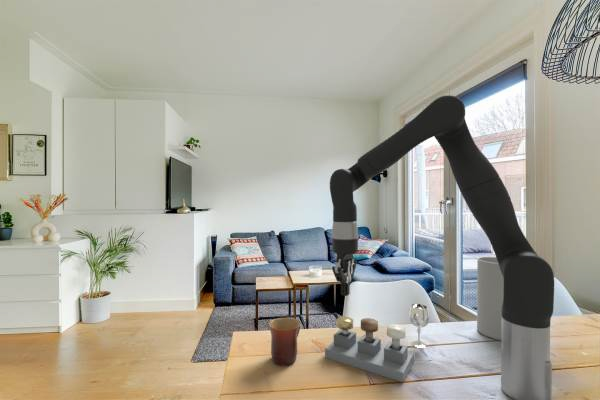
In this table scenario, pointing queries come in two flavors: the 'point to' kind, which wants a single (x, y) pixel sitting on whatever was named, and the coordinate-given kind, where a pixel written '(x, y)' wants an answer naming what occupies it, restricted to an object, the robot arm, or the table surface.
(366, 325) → the walnut key
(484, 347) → the table surface
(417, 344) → the wineglass
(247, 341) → the table surface
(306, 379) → the table surface
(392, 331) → the cream key
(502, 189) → the robot arm
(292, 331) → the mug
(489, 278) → the cylinder vase
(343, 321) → the gold faceted knob
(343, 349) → the grey key socket base
